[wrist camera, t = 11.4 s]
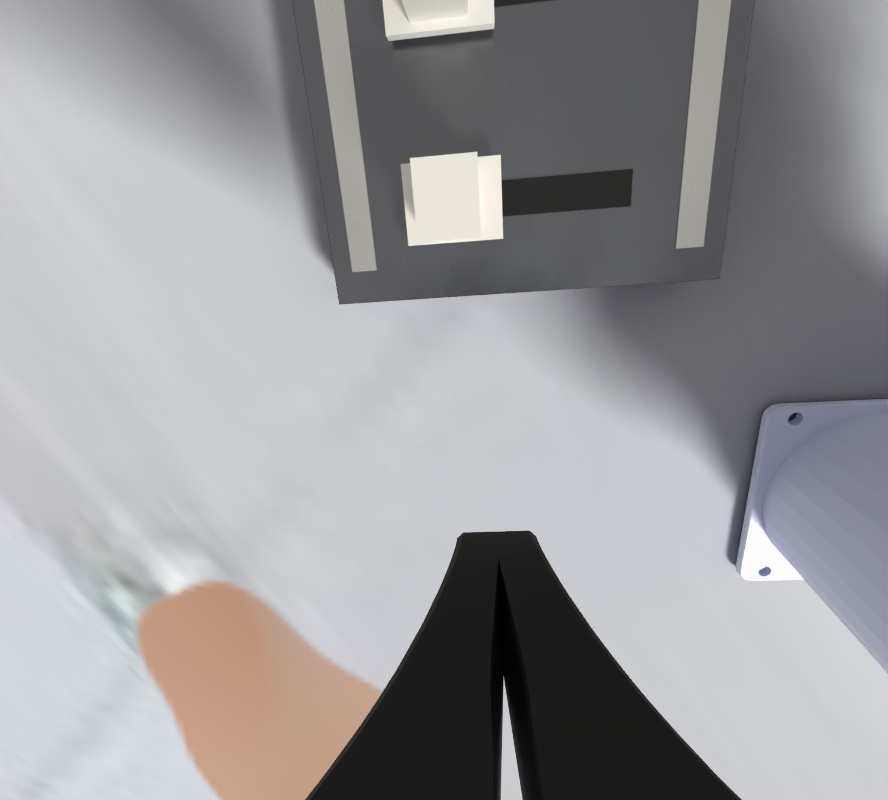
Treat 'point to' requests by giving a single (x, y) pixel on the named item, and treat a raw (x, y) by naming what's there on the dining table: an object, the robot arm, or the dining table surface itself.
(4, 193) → the dining table surface
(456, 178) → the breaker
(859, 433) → the robot arm
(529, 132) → the panel
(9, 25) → the dining table surface
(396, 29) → the breaker mid
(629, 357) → the dining table surface
